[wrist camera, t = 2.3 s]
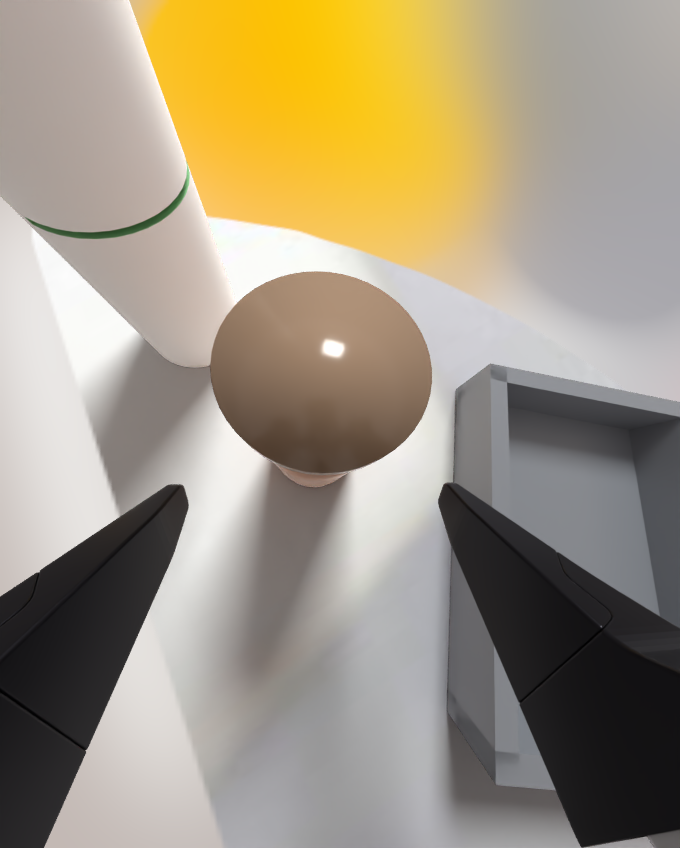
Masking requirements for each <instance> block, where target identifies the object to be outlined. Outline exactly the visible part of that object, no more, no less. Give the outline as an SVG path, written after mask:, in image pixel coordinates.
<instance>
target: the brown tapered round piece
mask: <svg viewBox="0 0 680 848" xmlns="http://www.w3.org/2000/svg"><path fill="white" fill-rule="evenodd" d="M210 370H211V382H212V386H213V391H214V395H215V397H216V400H217V403H218V405H219V408H220V409H221V411H222V413H223V415H224V417H225V418H226V420H227V421H228V423H229V424H230V425H231V427H232V428H233V429H234V430H235V432H236V433H237V434H238V435H239V436H240V437H241V438H242V439H243V440H244V441H245V442H246V443H247V444H248V445H249V446H251V447H252V448H253V449H254V450H255V451H256V452H258V453H259V454H260V455H262V456H263V457H264V458H266V459H267V460H269V461H271V462H273V463H275V465H276V466H277V467H278V468H279V469H280V470H281V471H282V472H283V473H284V475H285V476H287V477H288V478H289V479H290V480H291V481H293V482H295V483H297V484H299V485H302V486H306V487H322V486H326V485H329V484H331V483H333V482H335V481H336V480H338V479H339V478H341V477H342V476H344V475H345V474H347V473H348V472H352V471H355V470H358V469H361V468H363V467H366V466H368V465H370V464H372V463H374V462H376V461H377V460H379V459H381V458H383V457H384V456H386V455H387V454H389V453H390V452H392V451H393V450H395V449H396V448H397V447H398V446H399V445H401V444H402V443H403V442H404V441H405V440H406V439H407V438H408V437H409V435H410V434H411V433H412V432H413V431H414V430H415V428H416V426H417V425H418V423H419V422H420V420H421V418H422V416H423V414H424V412H425V409H426V407H427V404H428V400H429V397H430V392H431V384H432V367H431V361H430V355H429V352H428V348H427V345H426V342H425V340H424V338H423V336H422V333H421V332H420V330H419V328H418V326H417V325H416V323H415V322H414V320H413V319H412V318H411V316H410V315H409V314H408V312H407V311H406V310H405V309H404V308H403V307H402V306H401V305H400V304H399V303H398V302H396V301H395V300H394V299H393V298H392V297H390V296H389V295H388V294H386V293H385V292H383V291H382V290H380V289H379V288H377V287H375V286H373V285H371V284H369V283H367V282H365V281H362V280H359V279H357V278H354V277H350V276H347V275H343V274H337V273H331V272H301V273H295V274H290V275H286V276H282V277H279V278H276V279H274V280H271V281H269V282H266V283H264V284H263V285H261V286H259V287H257V288H255V289H254V290H252V291H251V292H250V293H248V294H247V295H246V296H244V297H243V298H242V299H241V300H240V301H239V302H238V303H237V304H236V305H235V306H234V307H233V308H232V309H231V311H230V312H229V313H228V314H227V316H226V317H225V319H224V321H223V322H222V324H221V326H220V328H219V330H218V332H217V335H216V337H215V340H214V344H213V348H212V352H211V363H210Z"/></svg>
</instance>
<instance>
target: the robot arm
mask: <svg viewBox="0 0 680 848" xmlns="http://www.w3.org/2000/svg"><path fill="white" fill-rule="evenodd" d="M438 504H439V508H440V511H441V515H442V518H443V521H444V524H445V528H446V531H447V534H448V537H449V540H450V543H451V546H452V548H453V551H454V553H455V556H456V558H457V560H458V563H459V565H460V567H461V570H462V572H463V574H464V577H465V579H466V581H467V584H468V586H469V588H470V591H471V593H472V595H473V598H474V600H475V602H476V605H477V607H478V609H479V612H480V614H481V616H482V619H483V621H484V623H485V626H486V628H487V630H488V633H489V635H490V637H491V640H492V642H493V644H494V647H495V649H496V651H497V654H498V656H499V658H500V661H501V663H502V665H503V668H504V670H505V672H506V675H507V677H508V679H509V682H510V684H511V686H512V689H513V691H514V693H515V696H516V698H517V700H518V702H519V703H520V704H519V706H520V708H521V710H522V713H523V715H524V717H525V720H526V722H527V724H528V727H529V729H530V731H531V734H532V736H533V738H534V741H535V743H536V745H537V748H538V750H539V752H540V755H541V757H542V759H543V762H544V764H545V766H546V769H547V771H548V773H549V776H550V778H551V780H552V783H553V785H554V787H555V790H556V792H557V794H558V797H559V799H560V801H561V804H562V806H563V808H564V811H565V813H566V815H567V818H568V820H569V822H570V825H571V827H572V829H573V832H574V834H575V836H576V838H577V840H578V842H579V844H580V846H581V847H582V848H584V847H590V846H595V845H601V844H606V843H612V842H618V841H623V840H629V839H634V838H640V837H645V836H647V837H648V839H649V840H650V842H651V844H652V845H653V847H654V848H680V628H679V627H677V626H675V625H674V624H672V623H670V622H669V621H667V620H665V619H664V618H662V617H661V616H659V615H657V614H656V613H654V612H652V611H651V610H649V609H647V608H646V607H644V606H643V605H641V604H639V603H638V602H636V601H634V600H633V599H631V598H629V597H628V596H626V595H624V594H623V593H621V592H620V591H618V590H616V589H615V588H613V587H611V586H610V585H608V584H607V583H605V582H603V581H602V580H600V579H599V578H597V577H595V576H594V575H592V574H591V573H589V572H588V571H586V570H585V569H583V568H582V567H580V566H578V565H577V564H575V563H574V562H572V561H571V560H569V559H568V558H567V557H565V556H564V555H562V554H561V553H559V552H556V550H555V549H553V548H552V547H550V546H549V545H547V544H546V543H544V542H543V541H541V540H540V539H538V538H537V537H535V536H534V535H533V534H531V533H530V532H528V531H527V530H525V529H524V528H522V527H521V526H519V525H518V524H516V523H515V522H513V521H512V520H510V519H509V518H507V517H506V516H504V515H503V514H502V513H500V512H499V511H497V510H496V509H494V508H493V507H491V506H490V505H488V504H487V503H485V502H484V501H482V500H481V499H479V498H478V497H476V496H475V495H474V494H472V493H471V492H469V491H468V490H466V489H465V488H463V487H462V486H460V485H459V484H457V483H445V484H444V485H443V487H442V490H441V493H440V496H439V499H438ZM188 506H189V504H188V499H187V496H186V492H185V489H184V486H183V485H181V484H171V485H167V486H166V487H164V488H163V489H161V490H160V491H158V492H157V493H155V494H154V495H152V496H151V497H149V498H148V499H146V500H145V501H143V502H142V503H140V504H139V505H137V506H136V507H134V508H133V509H131V510H130V511H128V512H127V513H125V514H124V515H122V516H121V517H119V518H118V519H116V520H115V521H113V522H112V523H110V524H109V525H107V526H106V527H104V528H103V529H101V530H100V531H98V532H97V533H95V534H94V535H92V536H91V537H89V538H88V539H86V540H85V541H83V542H82V543H80V544H79V545H77V546H76V547H74V548H73V549H71V550H70V551H68V552H67V553H65V554H64V555H62V556H61V557H59V558H58V559H56V560H55V561H53V562H52V563H50V564H49V565H47V566H46V567H44V568H43V569H41V570H40V572H39V573H35V574H34V575H32V576H31V577H29V578H28V579H26V580H25V581H23V582H22V583H20V584H19V585H17V586H16V587H14V588H13V589H11V590H10V591H8V592H7V593H5V594H3V595H2V596H1V597H0V848H44V846H45V844H46V842H47V839H48V837H49V835H50V833H51V831H52V828H53V826H54V824H55V821H56V819H57V817H58V815H59V813H60V810H61V808H62V806H63V803H64V801H65V799H66V796H67V794H68V792H69V790H70V788H71V785H72V783H73V781H74V778H75V776H76V774H77V772H78V770H79V767H80V765H81V763H82V761H83V758H84V756H85V754H86V751H85V750H87V748H88V747H89V744H90V742H91V740H92V738H93V735H94V733H95V731H96V728H97V726H98V724H99V722H100V719H101V717H102V715H103V713H104V710H105V708H106V706H107V704H108V701H109V699H110V697H111V694H112V692H113V690H114V688H115V686H116V683H117V681H118V679H119V676H120V674H121V672H122V670H123V668H124V665H125V663H126V661H127V659H128V656H129V654H130V652H131V649H132V647H133V645H134V643H135V640H136V638H137V636H138V634H139V631H140V629H141V627H142V625H143V623H144V620H145V618H146V616H147V613H148V611H149V609H150V607H151V604H152V602H153V600H154V598H155V595H156V593H157V591H158V589H159V586H160V584H161V582H162V580H163V577H164V575H165V573H166V571H167V568H168V566H169V564H170V562H171V559H172V557H173V554H174V551H175V549H176V546H177V542H178V539H179V536H180V533H181V530H182V527H183V524H184V520H185V517H186V514H187V511H188Z"/></svg>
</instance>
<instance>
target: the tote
mask: <svg viewBox="0 0 680 848" xmlns="http://www.w3.org/2000/svg"><path fill="white" fill-rule="evenodd" d="M454 483H457V484H459V485H460V486H462V487H463V488H465V489H466V490H468V491H469V492H471V493H472V494H474V495H475V496H476V497H478V498H479V499H481V500H482V501H484V502H485V503H487V504H488V505H490V506H491V507H493V508H494V509H496V510H497V511H499V512H500V513H502V514H503V515H504V516H506V517H507V518H509V519H510V520H512V521H513V522H515V523H516V524H518V525H519V526H521V527H522V528H524V529H525V530H527V531H528V532H530V533H531V534H533V535H534V536H535V537H537V538H538V539H540V540H541V541H543V542H544V543H546V544H547V545H549V546H550V547H552V548H553V549H555V550H556V552H559V553H561V554H562V555H564V556H565V557H567V558H568V559H569V560H571V561H572V562H574V563H575V564H577V565H578V566H580V567H582V568H583V569H585V570H586V571H588V572H589V573H591V574H592V575H594V576H595V577H597V578H599V579H600V580H602V581H603V582H605V583H607V584H608V585H610V586H611V587H613V588H615V589H616V590H618V591H620V592H621V593H623V594H624V595H626V596H628V597H629V598H631V599H633V600H634V601H636V602H638V603H639V604H641V605H643V606H644V607H646V608H647V609H649V610H651V611H652V612H654V613H656V614H657V615H659V616H661V617H662V618H664V619H665V620H667V621H669V622H670V623H672V624H674V625H675V626H677V627H679V628H680V402H677V401H671V400H667V399H662V398H657V397H652V396H646V395H642V394H637V393H632V392H627V391H622V390H618V389H613V388H608V387H603V386H598V385H593V384H588V383H583V382H578V381H573V380H568V379H563V378H559V377H554V376H549V375H544V374H539V373H534V372H529V371H524V370H519V369H514V368H509V367H504V366H499V365H495V364H489V365H488V366H487V367H485V368H484V369H483V370H481V371H480V372H479V373H477V374H476V375H475V376H473V377H472V378H470V379H469V380H468V381H466V382H465V383H464V384H462V385H461V386H460V387H458V388H457V389H456V412H455V448H454ZM519 704H520V703H519V702H518V700H517V698H516V696H515V693H514V691H513V689H512V686H511V684H510V682H509V679H508V677H507V675H506V672H505V670H504V668H503V665H502V663H501V661H500V658H499V656H498V654H497V651H496V649H495V647H494V644H493V642H492V640H491V637H490V635H489V633H488V630H487V628H486V626H485V623H484V621H483V619H482V616H481V614H480V612H479V609H478V607H477V605H476V602H475V600H474V598H473V595H472V593H471V591H470V588H469V586H468V584H467V581H466V579H465V577H464V574H463V572H462V570H461V567H460V565H459V563H458V560H457V558H456V556H455V553H454V551H453V548H452V555H451V591H450V627H449V663H448V699H447V712H448V713H449V715H450V716H451V718H452V719H453V721H454V722H455V724H456V725H457V727H458V729H459V730H460V732H461V733H462V735H463V736H464V738H465V739H466V741H467V742H468V744H469V745H470V747H471V748H472V750H473V751H474V753H475V754H476V756H477V757H478V759H479V760H480V762H481V763H482V765H483V766H484V768H485V769H486V771H487V772H488V774H489V775H490V777H491V779H492V780H493V782H494V783H495V785H500V786H511V787H523V788H534V789H545V790H555V787H554V785H553V783H552V780H551V778H550V776H549V773H548V771H547V769H546V766H545V764H544V762H543V759H542V757H541V755H540V752H539V750H538V748H537V745H536V743H535V741H534V738H533V736H532V734H531V731H530V729H529V727H528V724H527V722H526V720H525V717H524V715H523V713H522V710H521V708H520V706H519Z"/></svg>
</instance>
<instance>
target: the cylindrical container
mask: <svg viewBox="0 0 680 848" xmlns="http://www.w3.org/2000/svg"><path fill="white" fill-rule="evenodd" d="M0 196H1V197H2V198H3V199H4V200H5V201H6V202H7V203H8V204H9V205H10V206H11V207H12V208H13V209H14V210H15V211H16V212H17V213H18V214H19V215H20V216H21V217H22V218H23V219H24V220H25V221H26V222H27V223H28V224H29V225H30V226H31V227H32V228H33V229H34V230H35V231H36V232H37V233H38V234H39V235H40V236H41V237H42V238H43V239H44V240H45V241H46V242H47V243H48V244H49V245H50V246H51V247H52V248H53V249H54V250H55V251H56V252H58V253H59V254H60V255H61V256H62V257H63V258H64V259H65V260H66V261H67V262H68V263H69V264H70V265H71V266H72V267H73V268H74V269H75V270H76V271H77V272H78V273H79V274H80V275H81V276H82V277H83V278H84V279H85V280H86V281H87V282H88V283H89V284H90V285H91V286H92V287H93V288H94V289H95V290H96V291H97V292H98V293H99V294H100V295H101V296H102V297H103V298H104V299H105V300H106V301H107V302H108V303H109V304H110V305H111V306H112V307H113V308H114V309H115V310H116V311H117V312H118V313H119V314H120V315H121V316H122V317H123V318H124V319H125V320H126V321H127V322H128V323H129V324H130V325H131V326H132V327H133V328H134V329H135V330H136V331H137V332H138V333H139V334H140V335H141V336H142V337H143V338H144V339H145V340H146V341H147V342H148V343H149V344H150V345H151V346H152V347H153V348H154V349H155V350H156V351H158V352H159V353H160V354H161V355H162V356H163V357H164V358H165V359H167V360H168V361H170V362H172V363H174V364H177V365H180V366H184V367H193V368H199V367H206V366H210V363H211V352H212V348H213V344H214V340H215V337H216V335H217V332H218V330H219V328H220V326H221V324H222V322H223V321H224V319H225V317H226V316H227V314H228V313H229V312H230V311H231V309H232V308H233V307H234V306H235V305H236V304H237V301H236V298H235V295H234V293H233V290H232V287H231V284H230V281H229V279H228V276H227V273H226V270H225V267H224V265H223V262H222V259H221V256H220V253H219V251H218V248H217V245H216V242H215V239H214V237H213V234H212V231H211V228H210V225H209V223H208V220H207V217H206V214H205V211H204V209H203V206H202V203H201V201H200V197H199V195H198V192H197V189H196V186H195V184H194V181H193V178H192V175H191V172H190V170H189V167H188V164H187V162H186V160H185V155H184V153H183V150H182V147H181V144H180V141H179V139H178V136H177V133H176V131H175V128H174V125H173V122H172V119H171V116H170V113H169V111H168V108H167V105H166V102H165V100H164V97H163V94H162V91H161V88H160V86H159V83H158V80H157V77H156V74H155V72H154V69H153V66H152V64H151V61H150V58H149V55H148V52H147V49H146V47H145V44H144V41H143V38H142V35H141V32H140V30H139V27H138V24H137V21H136V19H135V16H134V13H133V10H132V7H131V5H130V2H129V0H0Z"/></svg>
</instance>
